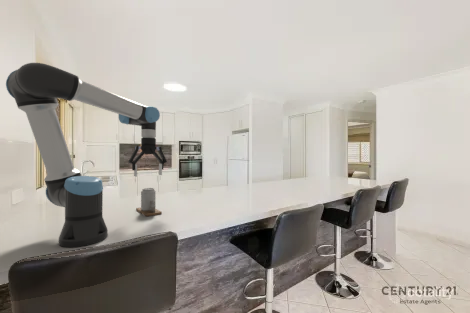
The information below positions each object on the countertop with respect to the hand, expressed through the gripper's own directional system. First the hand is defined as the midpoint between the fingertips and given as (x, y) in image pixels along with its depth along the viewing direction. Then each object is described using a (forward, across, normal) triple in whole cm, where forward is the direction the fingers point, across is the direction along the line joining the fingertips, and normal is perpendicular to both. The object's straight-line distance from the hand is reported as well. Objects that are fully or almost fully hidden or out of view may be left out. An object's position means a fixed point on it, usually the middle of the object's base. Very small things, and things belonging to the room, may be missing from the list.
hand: (148, 175), depth 120 cm
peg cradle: (+20, 0, 0) cm, 20 cm away
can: (+19, 0, 0) cm, 19 cm away
